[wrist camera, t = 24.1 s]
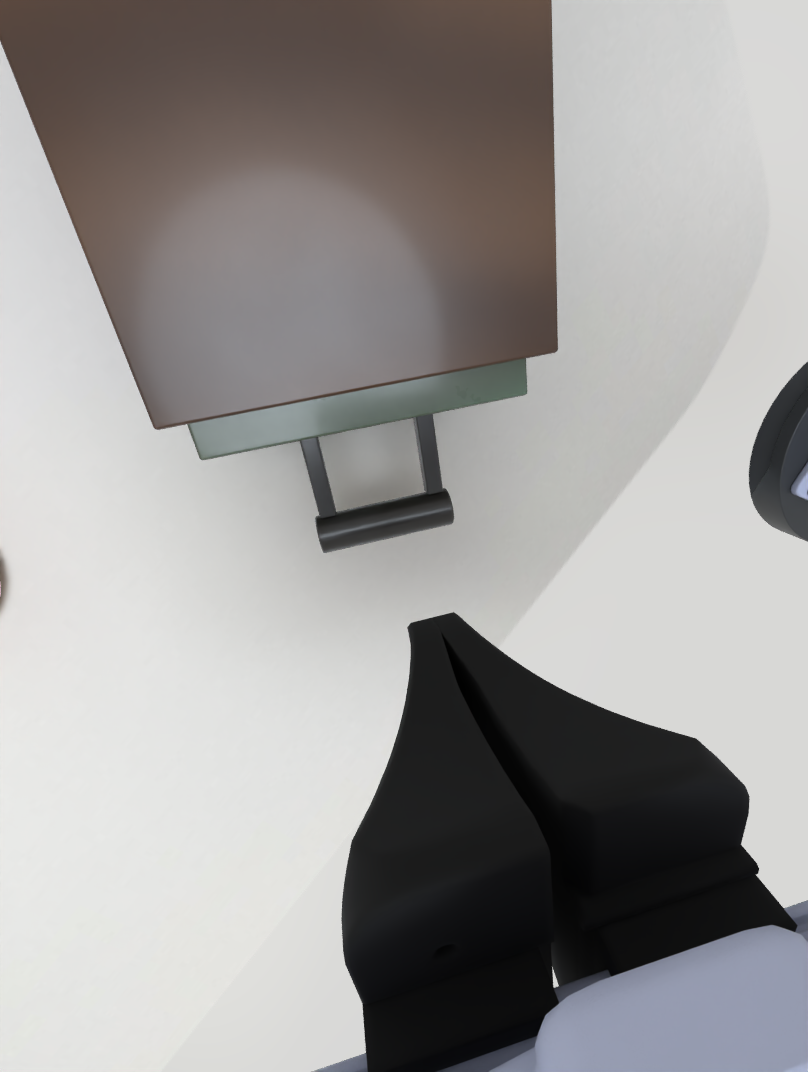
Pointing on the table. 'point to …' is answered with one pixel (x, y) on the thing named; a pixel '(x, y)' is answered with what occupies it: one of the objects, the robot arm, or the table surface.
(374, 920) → the robot arm
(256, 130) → the cabinet
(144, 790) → the table surface
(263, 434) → the drawer
